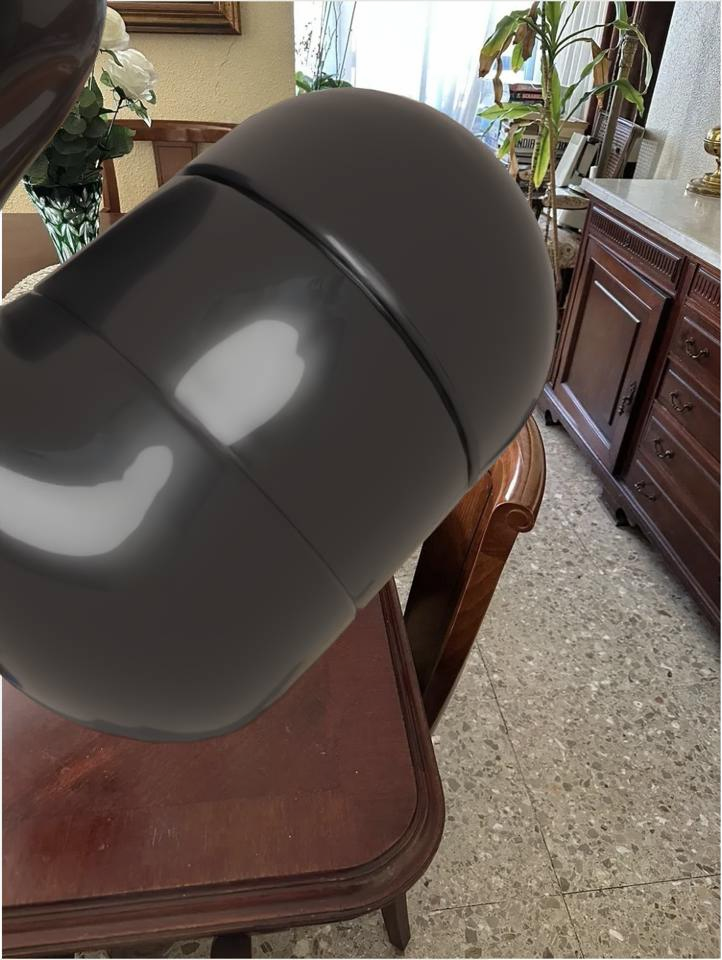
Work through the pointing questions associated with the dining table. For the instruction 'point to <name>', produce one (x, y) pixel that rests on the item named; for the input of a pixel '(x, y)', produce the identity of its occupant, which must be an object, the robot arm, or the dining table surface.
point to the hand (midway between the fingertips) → (248, 551)
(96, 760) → the dining table surface
